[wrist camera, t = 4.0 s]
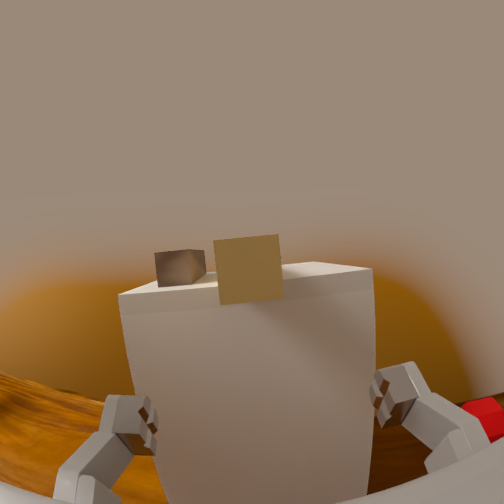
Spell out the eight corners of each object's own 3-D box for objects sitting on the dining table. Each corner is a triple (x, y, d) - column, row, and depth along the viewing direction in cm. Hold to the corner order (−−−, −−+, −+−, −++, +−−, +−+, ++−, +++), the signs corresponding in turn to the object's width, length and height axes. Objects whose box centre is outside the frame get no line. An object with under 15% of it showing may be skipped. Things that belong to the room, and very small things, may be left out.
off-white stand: (178, 528, 24) (117, 294, 23) (195, 439, 43) (168, 276, 43) (365, 506, 25) (372, 268, 24) (322, 425, 44) (313, 261, 44)
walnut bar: (158, 287, 27) (154, 252, 27) (183, 275, 41) (181, 252, 41) (192, 284, 27) (188, 249, 27) (206, 273, 41) (204, 250, 41)
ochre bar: (220, 305, 15) (213, 240, 15) (229, 272, 39) (226, 247, 39) (284, 298, 15) (278, 234, 15) (254, 270, 39) (251, 245, 39)
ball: (507, 464, 22) (522, 413, 22) (451, 478, 24) (464, 429, 24) (489, 433, 29) (499, 386, 29) (439, 444, 32) (447, 397, 32)
